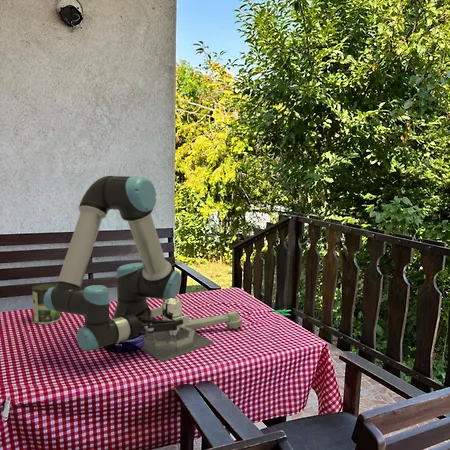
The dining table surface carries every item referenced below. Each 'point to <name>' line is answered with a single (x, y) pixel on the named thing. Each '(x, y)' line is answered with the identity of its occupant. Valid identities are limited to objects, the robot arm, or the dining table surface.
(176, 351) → the collar
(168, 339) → the chrome metal cup
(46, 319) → the coffee can
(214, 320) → the beige knobbed rod
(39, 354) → the dining table surface
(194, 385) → the dining table surface
